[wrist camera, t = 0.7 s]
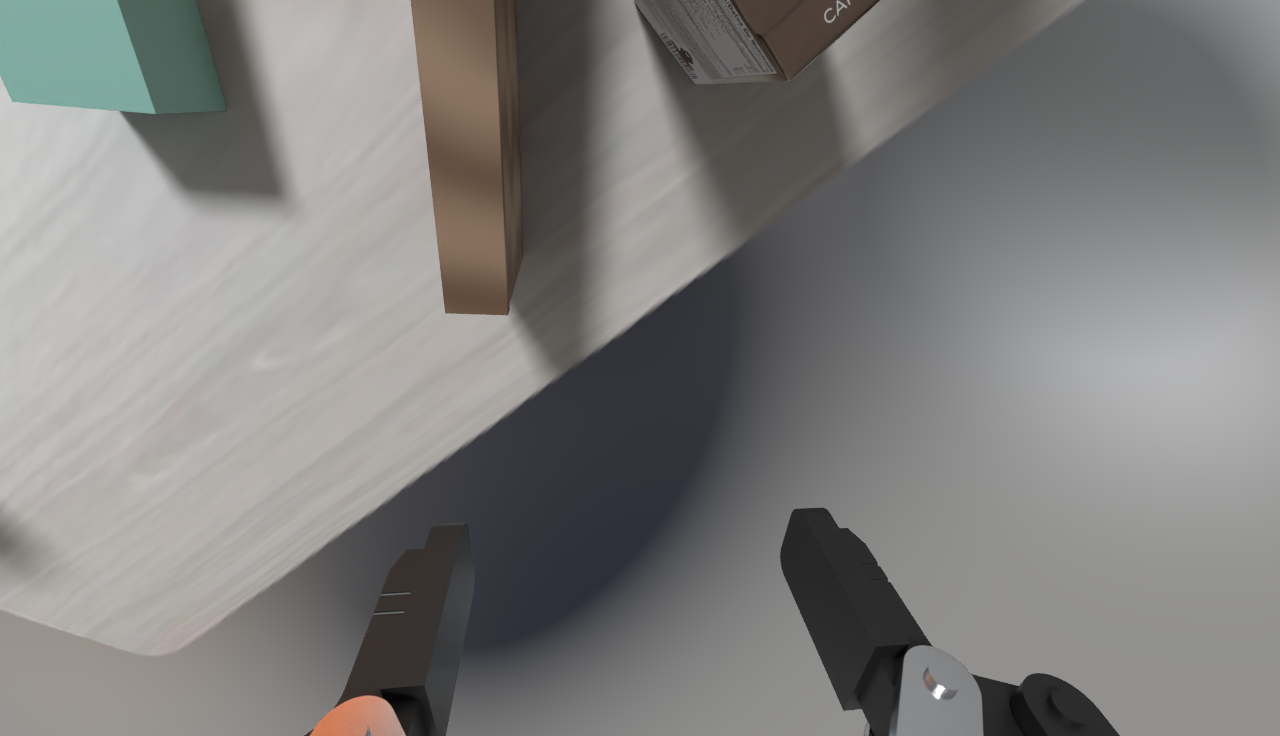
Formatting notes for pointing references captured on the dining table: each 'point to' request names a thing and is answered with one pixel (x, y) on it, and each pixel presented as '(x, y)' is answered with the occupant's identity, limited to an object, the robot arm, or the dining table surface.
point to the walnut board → (472, 147)
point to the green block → (109, 55)
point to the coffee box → (750, 35)
